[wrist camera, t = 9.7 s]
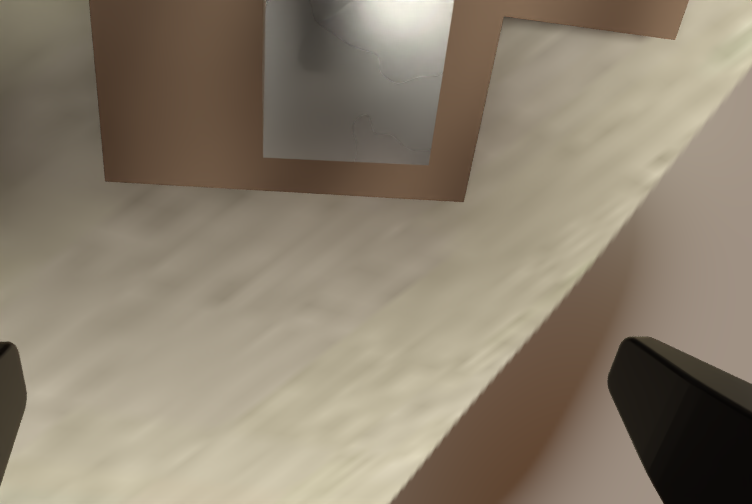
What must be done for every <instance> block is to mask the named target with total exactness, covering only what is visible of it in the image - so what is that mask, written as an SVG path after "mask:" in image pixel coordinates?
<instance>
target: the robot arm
mask: <svg viewBox="0 0 752 504" xmlns="http://www.w3.org/2000/svg"><path fill="white" fill-rule="evenodd" d="M608 389H609V391H610V394H611V396H612V398H613V401H614V403H615V405H616V407H617V410H618V412H619V414H620V416H621V418H622V421H623V422H624V425H625V427H626V429H627V431H628V433H629V436H630V438H631V440H632V443H633V445H634V447H635V449H636V451H637V453H638V456H639V458H640V460H641V462H642V464H643V466H644V468H645V470H646V473H647V474H648V476H649V478H650V480H651V482H652V484H653V486H654V487H655V489H656V491H657V493H658V494H659V496H660V498H661V500H662V501H663V503H664V504H752V384H750V383H748V382H746V381H744V380H742V379H740V378H738V377H735V376H733V375H731V374H729V373H727V372H725V371H722V370H721V369H718V368H716V367H714V366H712V365H710V364H708V363H706V362H703V361H701V360H699V359H697V358H695V357H693V356H691V355H688V354H686V353H684V352H682V351H680V350H678V349H675V348H673V347H671V346H669V345H667V344H665V343H663V342H661V341H659V340H656V339H654V338H652V337H627V338H625V339H624V340H623V341H622V342H621V344H620V346H619V349H618V351H617V354H616V356H615V359H614V362H613V364H612V367H611V369H610V372H609V374H608ZM26 400H27V391H26V386H25V381H24V376H23V371H22V366H21V361H20V356H19V352H18V349H17V347H16V345H14V344H13V343H11V342H0V485H1V482H2V479H3V476H4V473H5V470H6V467H7V464H8V460H9V457H10V454H11V451H12V448H13V445H14V442H15V439H16V436H17V432H18V429H19V426H20V423H21V420H22V417H23V414H24V411H25V407H26Z"/></svg>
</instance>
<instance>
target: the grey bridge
mask: <svg viewBox="0 0 752 504" xmlns="http://www.w3.org/2000/svg"><path fill="white" fill-rule="evenodd" d="M453 5H454V0H263V55H262V110H263V158H284V159H305V160H326V161H347V162H368V163H389V164H410V165H429V159H430V153H431V146H432V140H433V133H434V127H435V121H436V114H437V108H438V101H439V95H440V89H441V82H442V76H443V69H444V63H445V56H446V50H447V44H448V37H449V31H450V24H451V18H452V11H453Z"/></svg>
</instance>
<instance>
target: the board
mask: <svg viewBox="0 0 752 504" xmlns="http://www.w3.org/2000/svg"><path fill="white" fill-rule="evenodd" d="M688 1H689V0H454V5H453V11H452V18H451V24H450V31H449V37H448V44H447V50H446V56H445V63H444V69H443V76H442V82H441V89H440V95H439V101H438V108H437V114H436V121H435V127H434V133H433V140H432V146H431V153H430V159H429V165H410V164H389V163H368V162H347V161H326V160H305V159H284V158H263V110H262V55H263V0H89V5H90V16H91V28H92V39H93V50H94V61H95V72H96V83H97V95H98V106H99V117H100V128H101V139H102V151H103V162H104V173H105V181H107V182H124V183H142V184H159V185H176V186H194V187H211V188H228V189H246V190H263V191H280V192H298V193H315V194H333V195H350V196H367V197H385V198H402V199H419V200H437V201H454V202H464V198H465V194H466V189H467V184H468V180H469V175H470V171H471V166H472V161H473V157H474V152H475V147H476V143H477V138H478V133H479V129H480V124H481V120H482V115H483V110H484V106H485V101H486V96H487V92H488V87H489V83H490V78H491V73H492V69H493V64H494V59H495V55H496V50H497V45H498V41H499V36H500V32H501V27H502V22H503V18H504V16H506V17H513V18H520V19H528V20H535V21H542V22H549V23H556V24H564V25H571V26H578V27H585V28H592V29H599V30H607V31H614V32H621V33H628V34H635V35H643V36H650V37H657V38H664V39H671V40H675V38H676V36H677V33H678V30H679V27H680V24H681V21H682V18H683V15H684V13H685V10H686V7H687V4H688Z"/></svg>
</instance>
